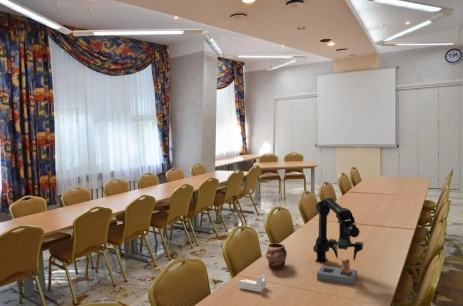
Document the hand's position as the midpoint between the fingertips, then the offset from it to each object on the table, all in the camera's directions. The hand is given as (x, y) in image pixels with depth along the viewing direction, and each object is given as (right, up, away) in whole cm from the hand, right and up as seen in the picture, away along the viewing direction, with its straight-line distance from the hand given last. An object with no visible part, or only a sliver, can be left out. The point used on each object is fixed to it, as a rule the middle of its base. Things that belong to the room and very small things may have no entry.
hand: (345, 259), depth 197 cm
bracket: (-52, -15, -3) cm, 54 cm away
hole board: (-4, -12, +3) cm, 13 cm away
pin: (+1, -10, 0) cm, 10 cm away
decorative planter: (-35, -12, +25) cm, 45 cm away
